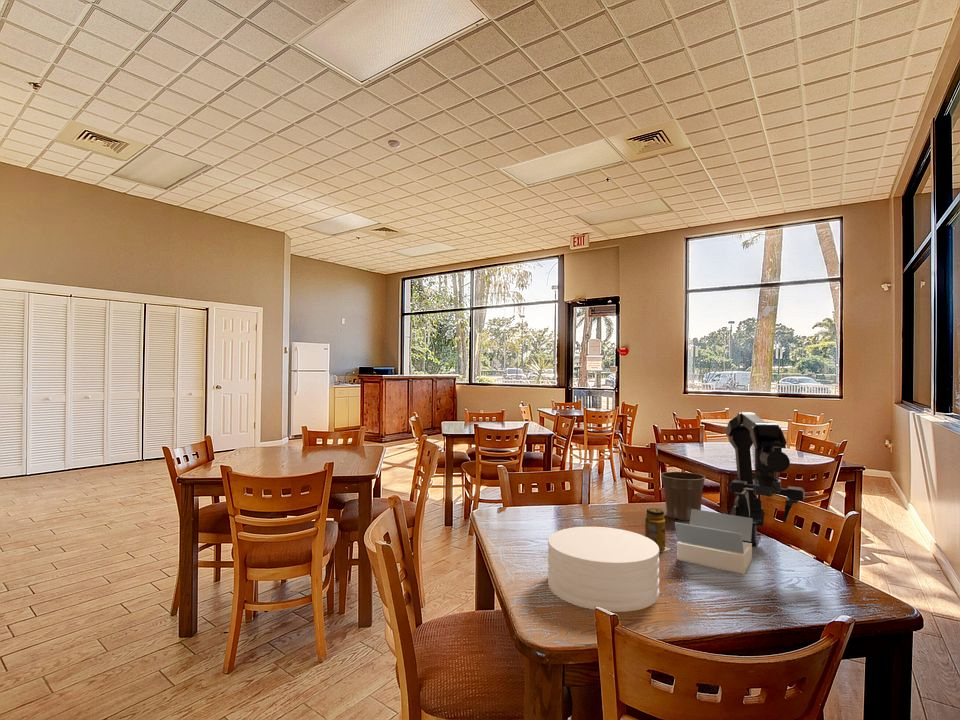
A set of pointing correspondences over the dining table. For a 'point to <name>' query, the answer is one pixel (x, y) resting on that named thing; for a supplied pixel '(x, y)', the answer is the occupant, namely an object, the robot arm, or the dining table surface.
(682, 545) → the carton
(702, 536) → the flap
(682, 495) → the plant pot
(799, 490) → the robot arm
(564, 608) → the dining table surface
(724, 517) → the flap
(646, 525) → the condiment
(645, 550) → the plate stack
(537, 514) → the dining table surface
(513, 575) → the dining table surface
